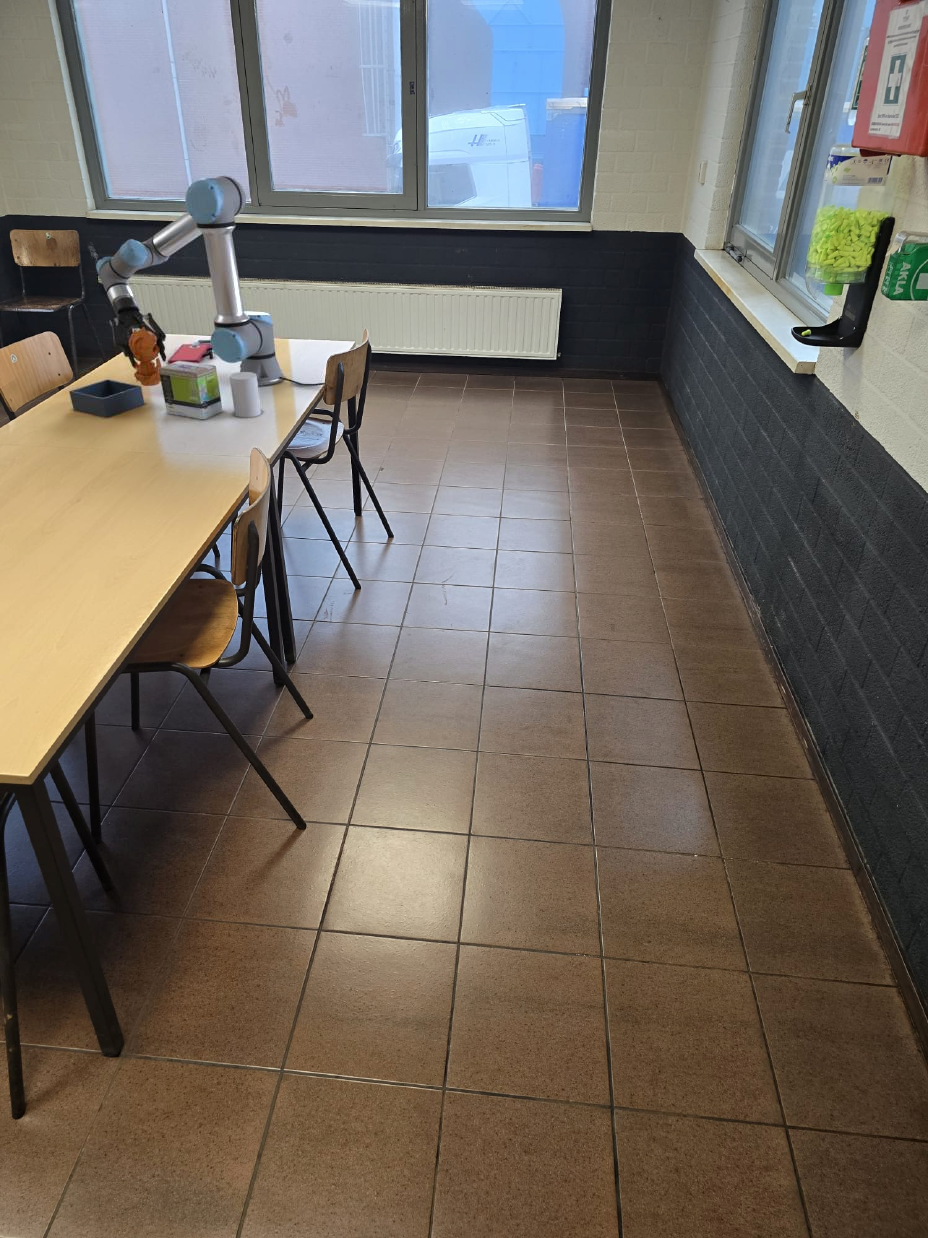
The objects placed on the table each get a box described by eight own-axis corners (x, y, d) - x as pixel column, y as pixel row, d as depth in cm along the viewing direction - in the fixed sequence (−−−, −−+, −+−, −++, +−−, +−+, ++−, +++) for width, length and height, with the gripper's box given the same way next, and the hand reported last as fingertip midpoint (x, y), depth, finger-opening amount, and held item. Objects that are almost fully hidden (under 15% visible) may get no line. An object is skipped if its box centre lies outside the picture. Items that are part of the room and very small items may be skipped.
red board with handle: (224, 341, 339) (187, 342, 339) (223, 334, 338) (186, 335, 337) (208, 363, 314) (168, 364, 314) (207, 355, 313) (166, 356, 312)
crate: (144, 404, 273) (141, 386, 270) (107, 417, 262) (102, 398, 259) (111, 396, 280) (107, 378, 276) (73, 409, 268) (68, 391, 265)
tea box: (224, 411, 268) (217, 364, 260) (203, 420, 261) (195, 373, 253) (187, 404, 274) (179, 358, 266) (165, 413, 266) (156, 366, 258)
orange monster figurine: (174, 380, 285) (165, 326, 276) (154, 389, 277) (144, 333, 267) (147, 376, 288) (137, 322, 279) (126, 385, 279) (115, 330, 270)
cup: (264, 409, 270) (259, 372, 264) (256, 417, 263) (251, 379, 257) (239, 408, 271) (234, 371, 264) (231, 416, 264) (225, 378, 257)
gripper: (155, 305, 287) (180, 362, 285) (88, 313, 275) (114, 373, 273) (157, 291, 281) (183, 350, 279) (90, 299, 269) (116, 360, 267)
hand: (149, 361), depth 276 cm, fingers closed on orange monster figurine, 9 cm apart
